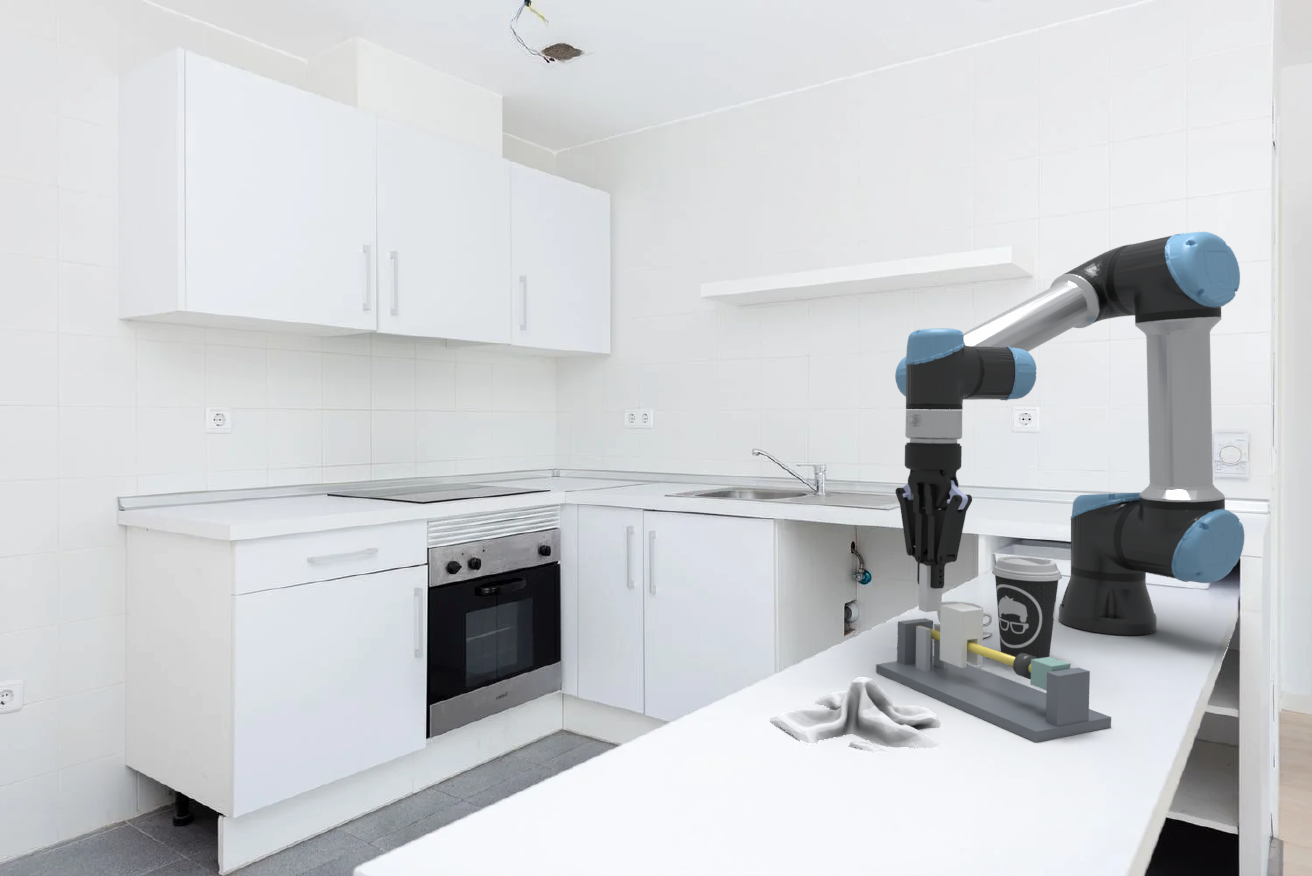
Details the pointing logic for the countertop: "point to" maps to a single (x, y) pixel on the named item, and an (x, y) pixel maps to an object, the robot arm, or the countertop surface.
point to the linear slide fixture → (997, 686)
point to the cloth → (861, 719)
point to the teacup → (985, 632)
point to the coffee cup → (1026, 604)
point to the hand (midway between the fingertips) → (930, 610)
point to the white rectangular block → (960, 633)
